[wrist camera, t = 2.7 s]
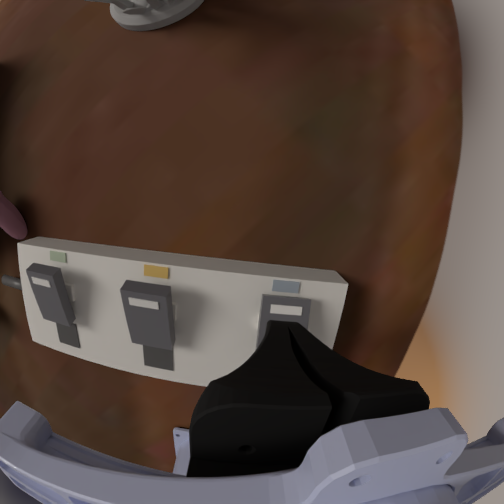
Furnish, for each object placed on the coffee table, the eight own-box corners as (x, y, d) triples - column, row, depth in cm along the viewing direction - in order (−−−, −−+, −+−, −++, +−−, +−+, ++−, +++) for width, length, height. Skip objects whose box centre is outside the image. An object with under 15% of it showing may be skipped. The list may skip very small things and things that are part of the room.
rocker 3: (297, 365, 16) (301, 371, 15) (253, 363, 16) (254, 369, 15) (307, 297, 17) (311, 299, 16) (261, 293, 17) (263, 295, 15)
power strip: (311, 371, 22) (319, 396, 18) (18, 316, 21) (0, 328, 17) (335, 270, 20) (350, 286, 16) (8, 232, 19) (-15, 238, 16)
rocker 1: (75, 318, 17) (69, 327, 16) (49, 310, 17) (43, 319, 16) (60, 268, 15) (52, 276, 14) (33, 262, 15) (25, 270, 14)
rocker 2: (175, 339, 17) (171, 351, 16) (136, 332, 17) (131, 343, 16) (170, 286, 15) (165, 297, 14) (126, 279, 15) (119, 290, 14)
